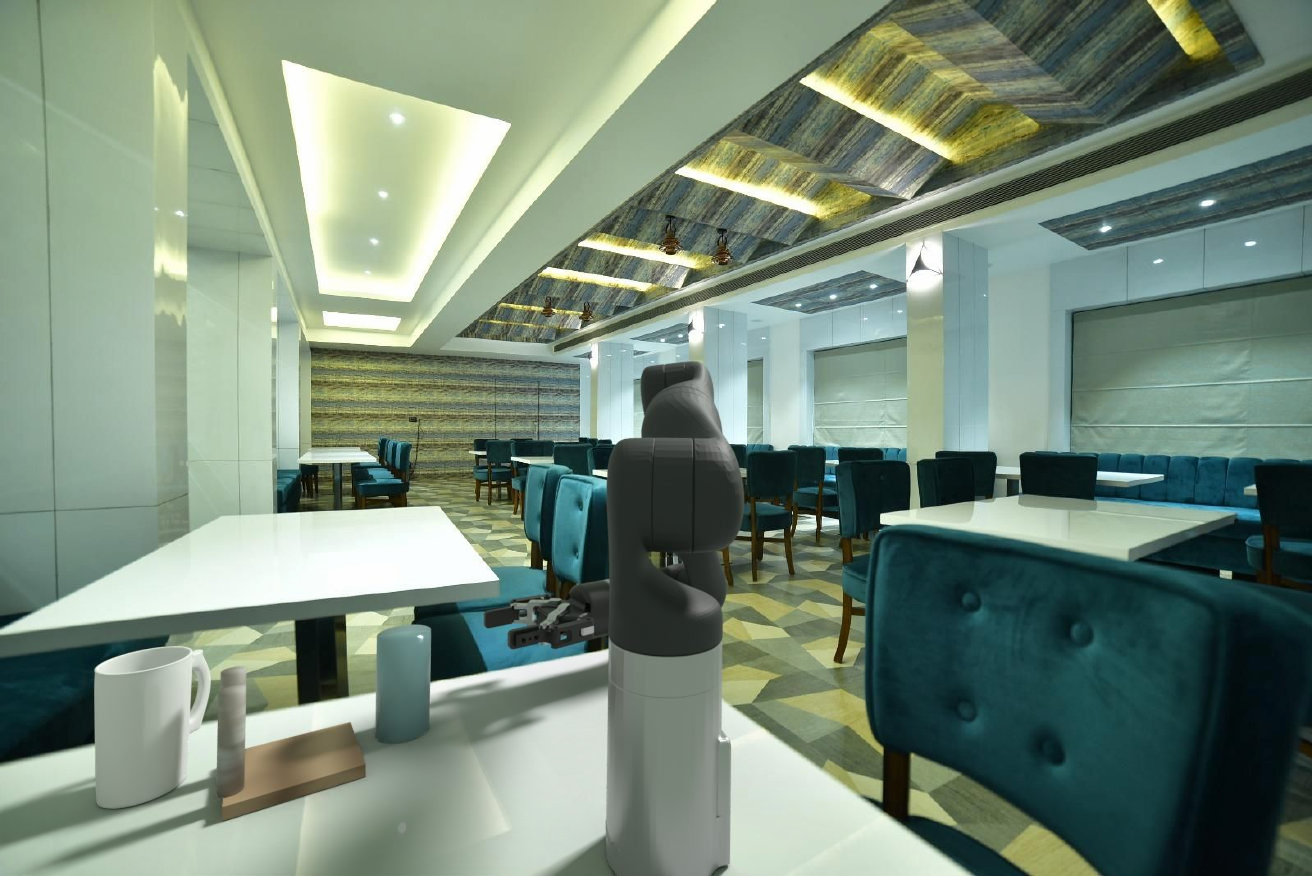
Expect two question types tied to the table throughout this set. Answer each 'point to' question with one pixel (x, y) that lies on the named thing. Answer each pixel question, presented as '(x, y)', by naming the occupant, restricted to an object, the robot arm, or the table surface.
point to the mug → (145, 722)
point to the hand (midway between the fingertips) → (496, 629)
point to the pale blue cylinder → (403, 683)
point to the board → (276, 757)
